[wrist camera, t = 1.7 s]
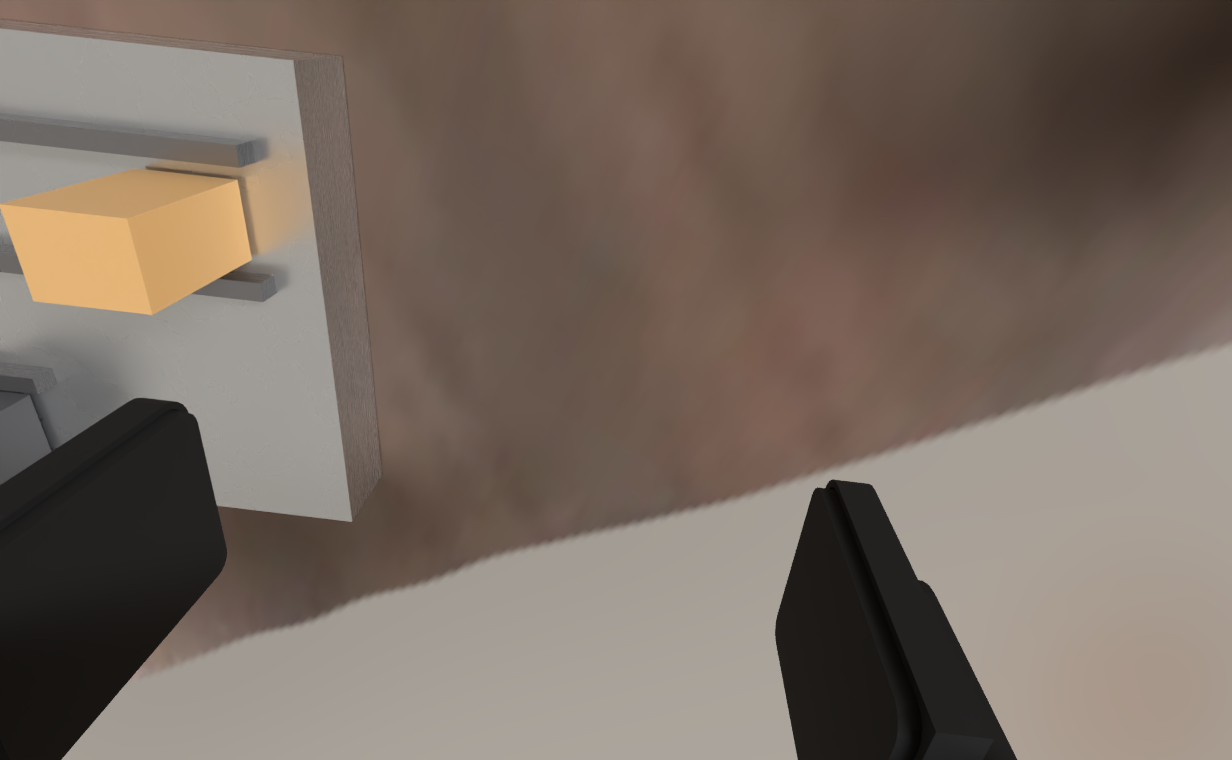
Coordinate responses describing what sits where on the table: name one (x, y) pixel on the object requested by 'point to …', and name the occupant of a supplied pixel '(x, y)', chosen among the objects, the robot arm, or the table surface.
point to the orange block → (128, 239)
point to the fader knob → (19, 435)
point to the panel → (229, 306)
